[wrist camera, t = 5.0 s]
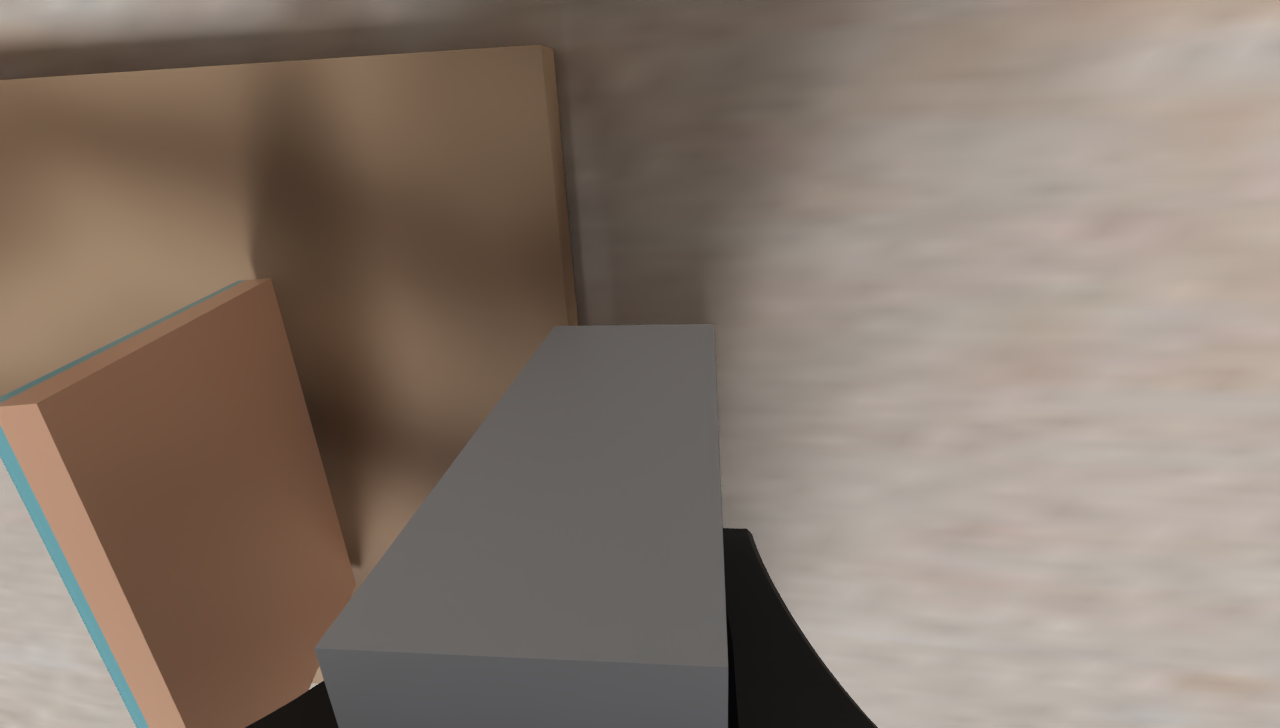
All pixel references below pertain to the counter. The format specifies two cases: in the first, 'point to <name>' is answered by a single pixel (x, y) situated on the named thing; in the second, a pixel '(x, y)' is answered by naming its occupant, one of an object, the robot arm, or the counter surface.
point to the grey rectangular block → (558, 556)
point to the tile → (187, 509)
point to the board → (304, 238)
